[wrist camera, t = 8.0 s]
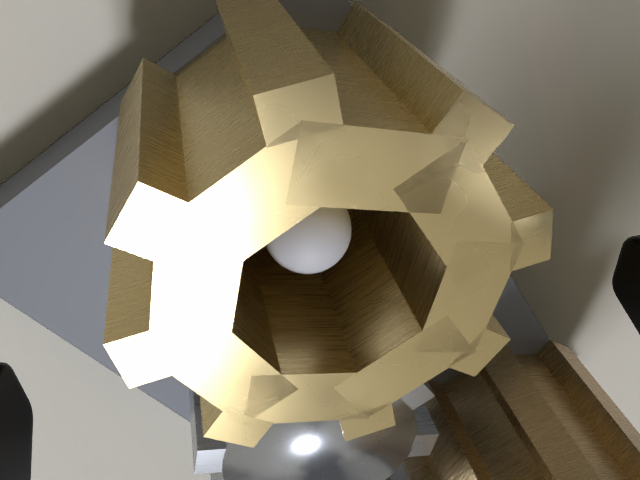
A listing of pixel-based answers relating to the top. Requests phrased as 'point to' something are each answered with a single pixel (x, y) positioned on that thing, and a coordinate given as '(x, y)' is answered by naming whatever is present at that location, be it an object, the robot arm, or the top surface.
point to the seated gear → (527, 424)
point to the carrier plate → (95, 256)
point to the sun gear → (319, 447)
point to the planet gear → (296, 204)
